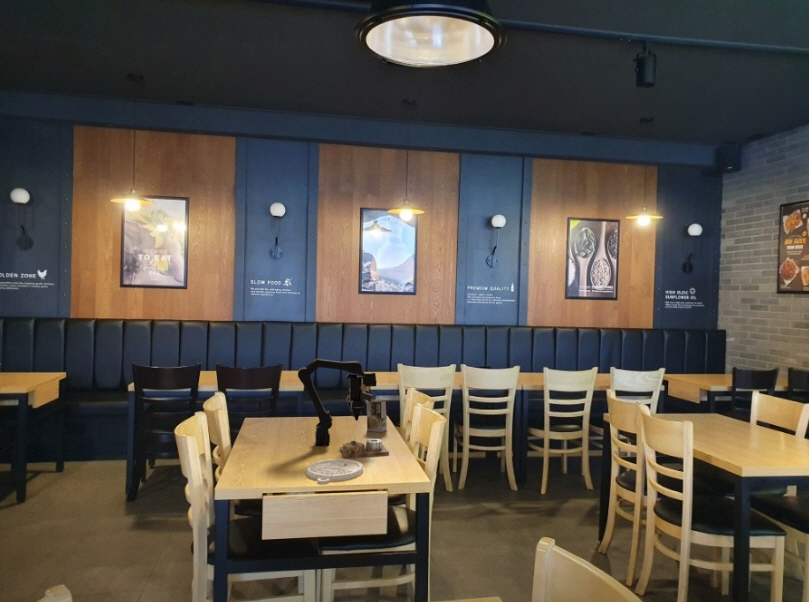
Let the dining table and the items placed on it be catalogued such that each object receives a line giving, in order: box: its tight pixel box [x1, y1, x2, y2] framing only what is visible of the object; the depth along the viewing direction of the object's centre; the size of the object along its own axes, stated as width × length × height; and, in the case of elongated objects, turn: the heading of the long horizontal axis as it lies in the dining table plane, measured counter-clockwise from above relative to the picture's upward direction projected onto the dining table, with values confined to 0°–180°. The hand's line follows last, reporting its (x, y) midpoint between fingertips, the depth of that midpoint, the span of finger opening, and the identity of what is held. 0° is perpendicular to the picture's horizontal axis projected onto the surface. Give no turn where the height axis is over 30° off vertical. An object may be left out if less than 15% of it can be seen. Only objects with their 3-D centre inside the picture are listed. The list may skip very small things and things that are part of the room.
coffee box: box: [366, 398, 388, 433], centre depth 306 cm, size 9×6×16 cm
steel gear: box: [365, 438, 383, 451], centre depth 265 cm, size 7×7×4 cm
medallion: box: [305, 458, 364, 485], centre depth 234 cm, size 24×27×2 cm
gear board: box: [340, 440, 390, 459], centre depth 264 cm, size 20×14×6 cm
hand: (355, 418), depth 281 cm, fingers open, 9 cm apart
